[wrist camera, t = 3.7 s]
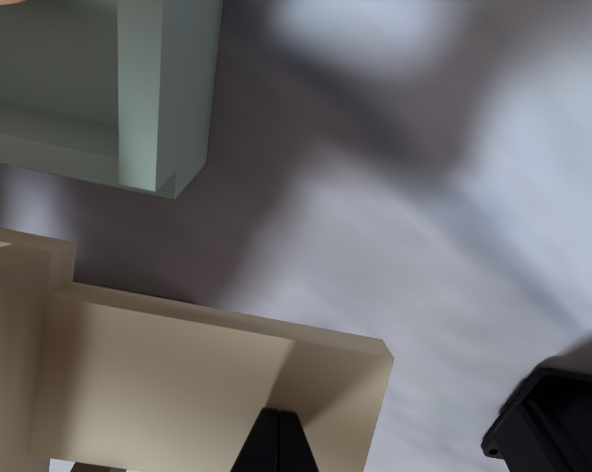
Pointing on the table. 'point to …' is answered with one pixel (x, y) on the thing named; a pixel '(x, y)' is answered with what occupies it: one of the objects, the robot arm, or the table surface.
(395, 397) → the table surface
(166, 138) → the bin
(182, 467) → the tipping lever
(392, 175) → the table surface
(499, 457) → the robot arm
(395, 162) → the table surface
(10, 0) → the ball
